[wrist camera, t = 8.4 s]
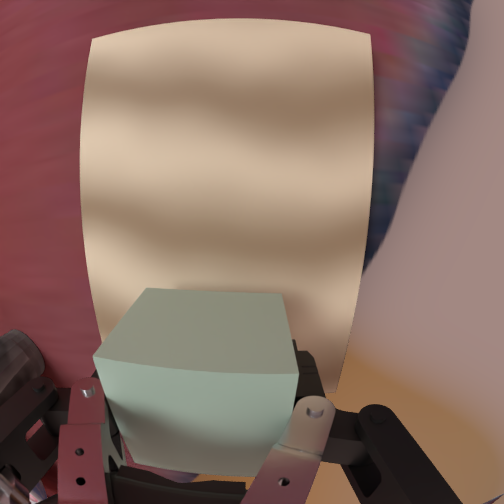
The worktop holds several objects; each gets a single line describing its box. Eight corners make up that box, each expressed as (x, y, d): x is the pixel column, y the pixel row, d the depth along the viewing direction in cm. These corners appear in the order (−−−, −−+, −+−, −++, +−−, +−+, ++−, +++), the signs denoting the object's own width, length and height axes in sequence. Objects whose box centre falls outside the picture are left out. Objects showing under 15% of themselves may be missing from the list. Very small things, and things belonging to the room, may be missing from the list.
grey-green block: (146, 287, 12) (92, 356, 7) (281, 293, 12) (299, 373, 7) (161, 386, 13) (134, 462, 8) (272, 393, 13) (278, 476, 8)
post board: (104, 47, 11) (51, 12, 6) (360, 44, 12) (405, -1, 6) (120, 366, 17) (89, 422, 12) (330, 377, 17) (351, 440, 12)
